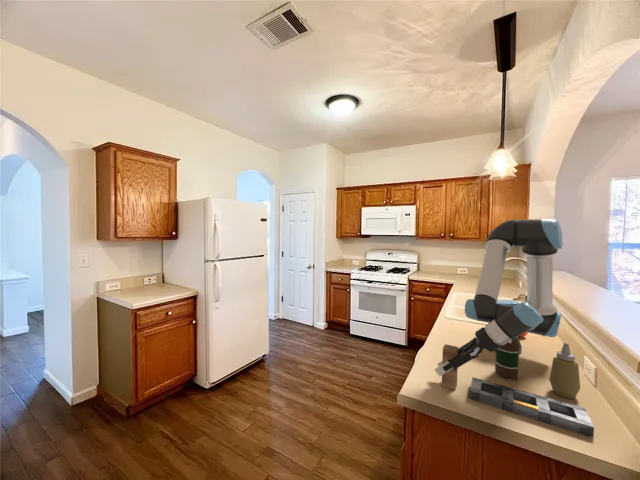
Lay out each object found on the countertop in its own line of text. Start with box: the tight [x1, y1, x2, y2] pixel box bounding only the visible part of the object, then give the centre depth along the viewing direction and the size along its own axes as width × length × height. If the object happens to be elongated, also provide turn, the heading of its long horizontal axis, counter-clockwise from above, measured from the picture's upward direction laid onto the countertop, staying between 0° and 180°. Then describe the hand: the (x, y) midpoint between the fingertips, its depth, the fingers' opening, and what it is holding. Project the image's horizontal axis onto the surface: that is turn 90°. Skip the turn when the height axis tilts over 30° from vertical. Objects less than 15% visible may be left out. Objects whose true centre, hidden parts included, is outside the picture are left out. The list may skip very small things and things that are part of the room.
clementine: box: [520, 332, 529, 338], centre depth 148 cm, size 8×7×7 cm
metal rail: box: [469, 377, 595, 438], centre depth 87 cm, size 30×10×3 cm, turn 56°
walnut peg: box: [441, 343, 459, 391], centre depth 99 cm, size 4×4×14 cm
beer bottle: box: [494, 338, 520, 381], centre depth 107 cm, size 8×8×24 cm
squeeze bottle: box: [548, 342, 581, 400], centre depth 95 cm, size 8×8×18 cm
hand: (438, 369), depth 102 cm, fingers closed on walnut peg, 4 cm apart
